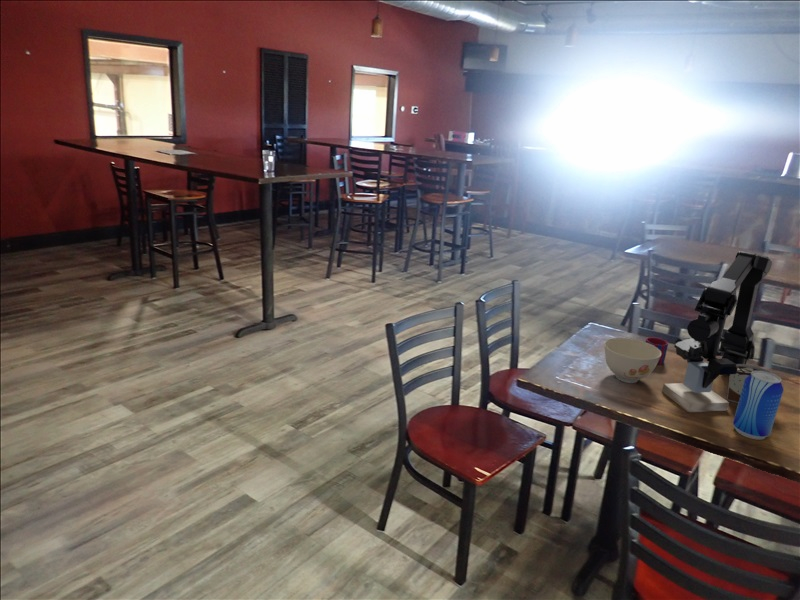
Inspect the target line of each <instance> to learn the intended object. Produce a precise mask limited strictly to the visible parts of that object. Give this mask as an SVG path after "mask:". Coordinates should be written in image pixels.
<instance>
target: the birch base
mask: <svg viewBox="0 0 800 600" xmlns="http://www.w3.org/2000/svg"><path fill="white" fill-rule="evenodd" d="M683 383H684V382H678V383H663V385H662V390H661V392H662V393H663V394H664V395H666V396H667V397H668V398H670V399H671V400H672V401H674V402H675V403H676V404H677V405H678V406H679V407H681V408H682V409H684V410H685V411H686V412H687V413H700V412H701V413H703V412H723V411H728V408H729V405H730V401H729V400H727V399H725V398H724V397H722V396H720V395H719V394H718V393H716V392H714V391H713V390H712V389H711V392H701V393H694V392H693V391H691V390H690V389H689V388H687V387H686V386H685V385H683Z"/></svg>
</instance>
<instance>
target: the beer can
mask: <svg viewBox="0 0 800 600" xmlns="http://www.w3.org/2000/svg"><path fill="white" fill-rule="evenodd" d="M772 373H773V372H772ZM772 373H769V372H765V371H752V372H751V375H749V376H748V377H747V378H746V379H745V381H744V385H743V388H742V392H741V396H740V399H739V403H737V407H736V410H735V415H734V418H733V420H732V421H733V422H732V423H733V424H732V425H733V426H734V429H735V431H736V432H737V433H738V434H739V435H741V436H743V437H745V438H748V439H752V440H757V441H758V440H764V439H766V437H769V436H770V435H771V433H772V430H773V426H774V423H775V420H776V416H777V412H778V410H779V406H780V403H781V400H782V396H783V392H784V387H783V384H782V378H781V377H780V376H778V375H777V374H775V373H774V374H772Z"/></svg>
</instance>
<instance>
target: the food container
mask: <svg viewBox="0 0 800 600" xmlns="http://www.w3.org/2000/svg"><path fill="white" fill-rule="evenodd" d="M736 365H737V366H738V369H737V372H736V374H730V376H729V379H728V386H727V393H726V394H727V395H726V401H728V402H734V403H737V404H738V403H739V399H740V396H741V392H742V388H743V385H744V381H745V379H746V378H747V377H748V376H749V375H751V372H752V371H765V372H769V373H772V374H775V373H773V372H772V371H770V370H769V369H766V368H763V367H760V366H756V365H753V364H748V363H746V364H736Z"/></svg>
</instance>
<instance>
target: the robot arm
mask: <svg viewBox="0 0 800 600" xmlns="http://www.w3.org/2000/svg"><path fill="white" fill-rule="evenodd" d="M772 265H773V262H772V260H771V258H769V256H766V255H761V254H757V253H756V252H755V253H754V252H751V251H745V250H739V251H738V252H737V253H736V255H735V259H734V260H733V262H731V265H730V266H729V267H728V268H727V270H726V271H725V272H724V274H723V275H722V277H721V278H720V279H717V280H714V281H711V283H710V284H709V285H708V286H707V287H705V288H704V289H703V291H702V293H701V295H700V297H699V300H698V302H697V304H696V305H695V308H694V311H695V312H697V313H699V314H698V316H697V317H696V318H695V319H692V320H691V321H690V322H689V323H688V324H687V326H686V327H687V328H686V331H687V334H688V335H689V337H679V338H677V339H676V340H675V343H674V346H673V347H674V348H675V351H676V352H675V353H676V355H677V356H679V357H681V359H683V360H684V361H687V362H686V363H687V364H688V362H704V360H705V361H707V362H708V363H707V364H708V366H702V368H703V369H704V371H705V372H704V378H703V384H702V387H703V388H707V387H708V386H709V385H710V384H711V383H712V382H713V383H714V381H715V380H716V379H717V378H718V377H719V376H721V375H722V376H723V375H725V376H729V377H730V374H736V372H737V369H738V366H737V365H736V364H747V361H749V360H753V359H754V357H755V352H756V347H755V341H754V336H755V333H754V332H753V329H752V328H751V320H752V316H753V312H754V307H755V302H756V298H757V297H756V296H757V294H758V289H759V285H760V284H759V283H760V282H761V281H762V280H763V279H764V278H766V277H767V275H768V274H769V273H770V271H771V269H772ZM738 288H739V291H738V295H737V290H738ZM733 311H734V314H733V320H732V323H731V324H732V325H731V326H730V327H729V328H728V329H726V331H725V332H724V328H725V324H726V321H727V318H728V317H729V316H731V315H732V313H733ZM723 332H724V334H723ZM722 353H723V355H722ZM718 356H719V357H720V356H722V357H721V358H717V357H718Z"/></svg>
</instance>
